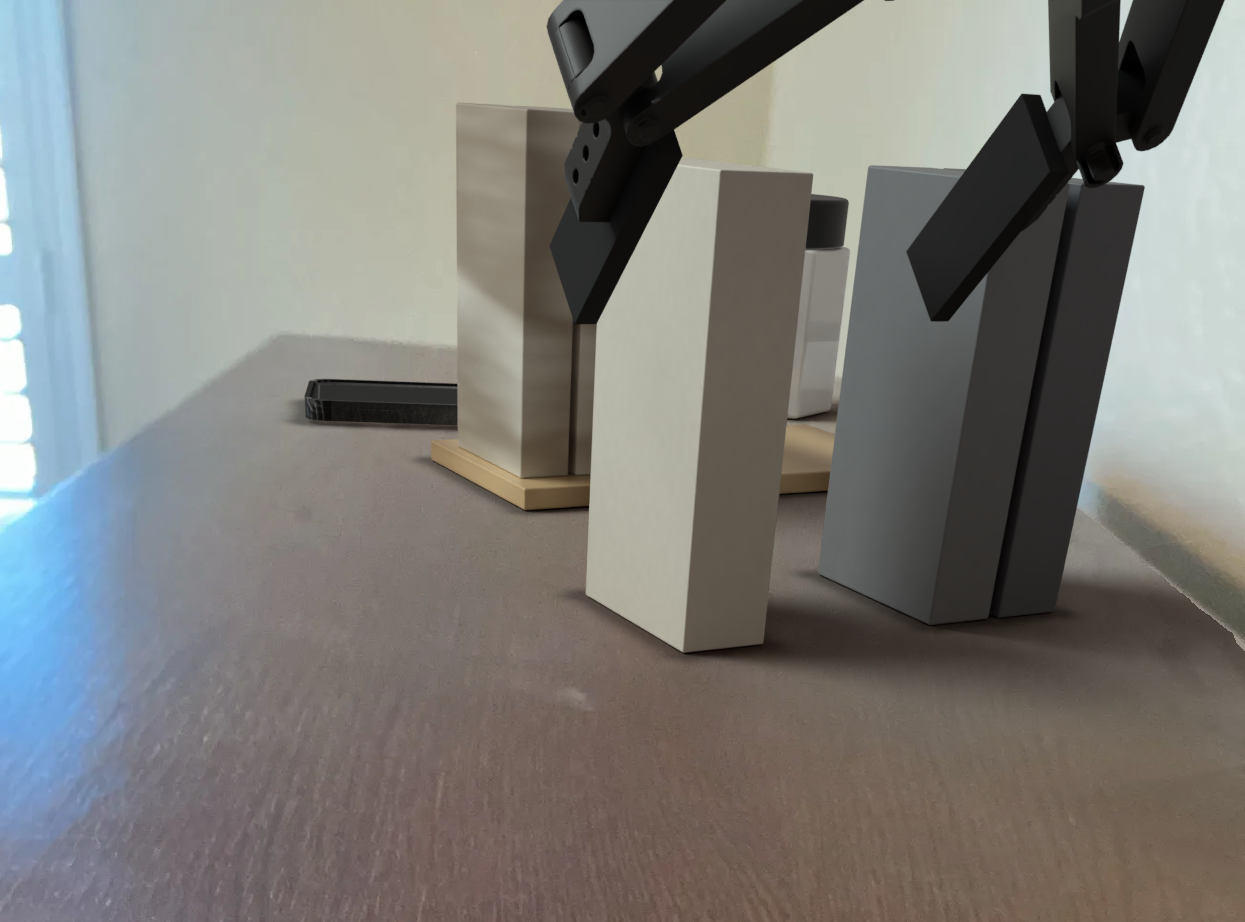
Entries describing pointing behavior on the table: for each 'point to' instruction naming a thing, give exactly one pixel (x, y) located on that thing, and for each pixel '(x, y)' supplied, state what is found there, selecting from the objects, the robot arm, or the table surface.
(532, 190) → the book rack
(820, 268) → the jar
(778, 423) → the tall off-white box
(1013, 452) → the grey books
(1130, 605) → the table surface
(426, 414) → the phone
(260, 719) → the table surface
